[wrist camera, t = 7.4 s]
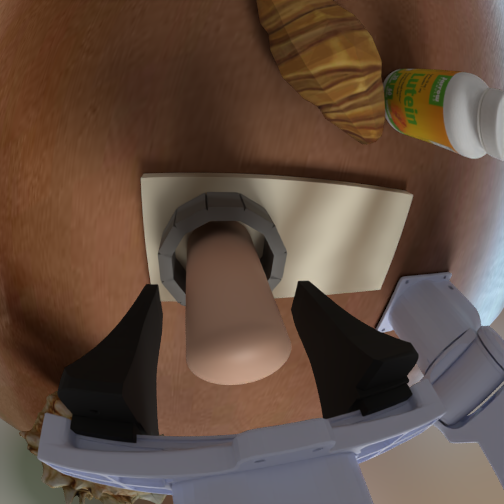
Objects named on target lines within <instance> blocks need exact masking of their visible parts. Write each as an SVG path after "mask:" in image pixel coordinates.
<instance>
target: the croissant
mask: <svg viewBox="0 0 504 504" xmlns="http://www.w3.org/2000/svg"><path fill="white" fill-rule="evenodd" d="M256 1H257V7H258V13H259V19H260V23H261V25H262V26H263V27H264V29H265V30H266V31H267V33H268V34H269V42H270V51H271V53H272V55H273V57H274V59H275V62H276V64H277V66H278V68H279V71H280V73H281V75H282V77H283V78H284V79H285V80H286V81H287V82H288V83H289V84H290V85H291V86H292V87H293V88H294V89H295V90H296V91H297V92H298V93H299V94H300V95H301V96H302V97H303V98H304V99H305V100H307V101H309V102H311V103H312V104H314V105H316V106H318V107H319V109H320V111H321V112H322V114H323V115H324V117H325V119H327V120H328V121H330V122H331V123H333V124H334V125H336V126H337V127H339V128H340V129H341V130H343V131H344V132H346V133H347V134H348V135H350V136H351V137H353V138H354V139H356V140H357V141H358V142H360V143H361V144H370V143H373V142H376V141H377V140H378V139H379V138H380V137H381V136H382V131H383V126H384V121H385V99H384V87H383V83H382V78H381V67H382V61H381V58H380V56H379V53H378V51H377V48H376V46H375V43H374V41H373V39H372V37H371V35H370V34H369V33H368V31H367V30H366V29H365V28H364V26H363V25H362V24H361V23H360V21H359V20H358V19H357V18H356V17H355V15H353V14H352V13H350V12H348V11H347V10H345V9H344V8H342V7H340V6H338V5H337V4H336V3H335V2H334V1H333V0H256Z"/></svg>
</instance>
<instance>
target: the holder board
mask: <svg viewBox="0 0 504 504" xmlns="http://www.w3.org/2000/svg"><path fill="white" fill-rule="evenodd" d="M141 194H142V210H143V222H144V233H145V243H146V252H147V260H148V267H149V275H150V282H151V284H158V286H159V293H160V300H161V301H177V302H178V303H180V304H181V305H183V306H186V263H187V244H188V240H189V237H190V235H191V234H192V232H193V231H194V230H195V229H196V228H198V227H200V226H202V225H204V224H206V223H208V222H209V221H237V222H238V223H240V224H242V225H243V226H244V227H245V228H246V229H247V231H248V232H249V234H250V236H251V238H252V241H253V244H254V246H255V249H256V252H257V254H258V257H259V259H260V262H261V265H262V267H263V270H264V273H265V275H266V278H267V281H268V283H269V286H270V288H271V291H272V294H273V296H274V298H285V297H294V296H295V292H296V287H297V283H298V281H310V282H311V283H312V284H314V285H315V286H316V287H317V288H318V289H319V290H320V291H322V292H323V293H324V294H325V295H328V294H340V293H351V292H361V291H371V290H380V289H381V286H382V284H383V281H384V279H385V277H386V274H387V272H388V269H389V266H390V264H391V261H392V259H393V256H394V253H395V250H396V248H397V245H398V242H399V239H400V236H401V233H402V230H403V227H404V224H405V221H406V218H407V215H408V211H409V208H410V205H411V201H412V198H413V195H412V194H411V193H409V192H407V191H405V190H399V189H393V188H386V187H380V186H373V185H366V184H359V183H351V182H343V181H334V180H325V179H315V178H304V177H292V176H278V175H261V174H239V173H147V174H143V175H142V177H141Z"/></svg>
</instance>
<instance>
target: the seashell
mask: <svg viewBox="0 0 504 504" xmlns="http://www.w3.org/2000/svg"><path fill="white" fill-rule="evenodd" d="M57 392H58V391H56V392H55V393H53V394H51V395H49V396H48V397H47V404H46V405H45V406H44V408H43V410H42V412H39V413H38V417H37V420H36V422H35V424H34V426H33V428H32V429H31V430H30V431H22V432H20V433H19V434H20V436H22V437H23V438H25V439H26V441H27V443H28V447H27V448H28V450H30V452H31V453H33V454H35V455H38V448H39V442H40V436H41V430H42V425H43V420H44V416H45V413H50V414H54V415H58V416H63V417H66V418H68V419H70V420H72V413H71V412H70V411H69V410H68V409H67V408H66V406H65V405H64V404H63V403H62V402H61V400H60V399H59V397H58V394H57ZM159 436H164V434H162V435H159ZM41 462H42V461H41ZM42 465H43V475H42V477H41V479H42V482H44V483H45V484H47V485H48V486H50V487H51V488H57V487H62V488H63V490H64V495H65V500H66V504H71V503H72V500H73V498H74V497H75V496H76V495H77V496H78V497H79V502H80V504H84V502H85V497H87V498H88V499H89V500H91V499H92V497H94V498H95V499H99V500H100V501H101V502H102V503H103V504H133V503H134V502H135V501H136V500H137V499H138V498H140V499H145V500H149V501H152V502H154V503H156V504H161V503H162V502H163V500H164V498H165V497H166V495H167V494H157V493H148V492H141V491H134V490H128V489H123V488H117V487H113V486H108V485H103V484H99V483H95V482H91V481H87V480H83V479H79V478H76V477H72V476H69V475H65V474H63V473H61V472H59V471H57V470H56V469H54V468H52V467H50V466H49V465H47V464H45V463H44V462H42Z"/></svg>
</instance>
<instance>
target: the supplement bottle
mask: <svg viewBox="0 0 504 504" xmlns="http://www.w3.org/2000/svg"><path fill="white" fill-rule="evenodd" d="M383 87H384V99H385V117H386V119H387V121H388V122H389V124H390V125H391V126H392V127H393V128H394V129H395V130H397V131H398V132H400V133H402V134H405V135H408V136H411V137H414V138H417V139H420V140H423V141H426V142H429V143H432V144H435V145H437V146H440V147H443V148H445V149H448V150H450V151H453V152H455V153H457V154H460V155H462V156H465V157H468V158H472V159H475V158H480V157H482V156H484V155H485V154H489V155H490V156H492V157H494V158H497V159H499V160H501V161H504V91H503V90H500V89H496V88H489V87H488V86H487V84H486V83H485V82H484V81H483V80H482V79H481V78H479V77H478V76H476V75H474V74H471V73H466V72H459V71H447V70H433V69H399V70H395V71H393V72H392V73H390V74H389V75H388V76H387V77H386V79H385V80H384V82H383Z"/></svg>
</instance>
